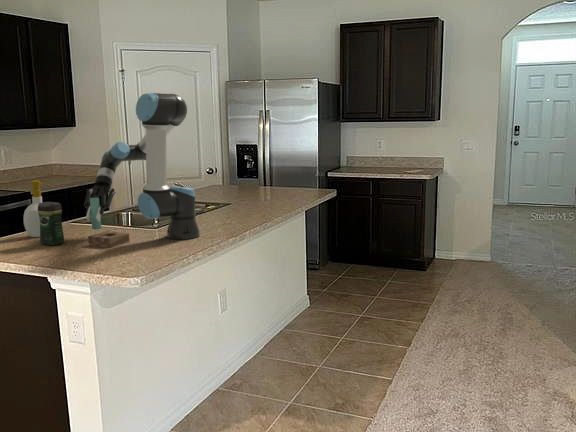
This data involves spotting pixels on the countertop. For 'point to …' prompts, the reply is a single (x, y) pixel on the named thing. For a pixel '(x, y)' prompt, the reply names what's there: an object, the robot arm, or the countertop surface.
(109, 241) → the bore block
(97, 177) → the robot arm
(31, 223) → the soap bottle
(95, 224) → the dowel
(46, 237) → the coffee jar
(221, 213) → the countertop surface
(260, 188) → the countertop surface
